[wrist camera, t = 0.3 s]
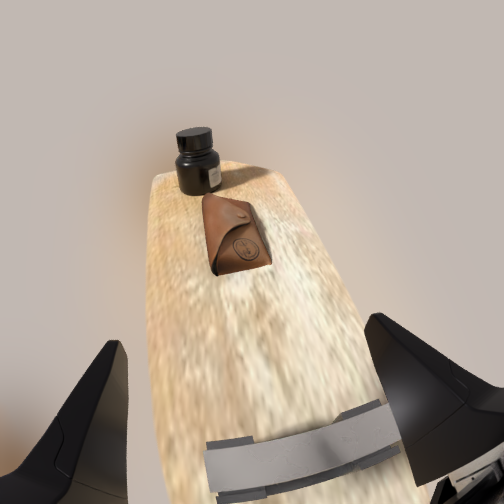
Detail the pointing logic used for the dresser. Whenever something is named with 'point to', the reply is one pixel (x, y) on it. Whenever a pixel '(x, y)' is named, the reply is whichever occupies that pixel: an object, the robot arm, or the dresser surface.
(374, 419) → the rail
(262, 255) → the sunglasses case
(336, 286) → the dresser surface
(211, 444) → the standards
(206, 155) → the ink bottle
